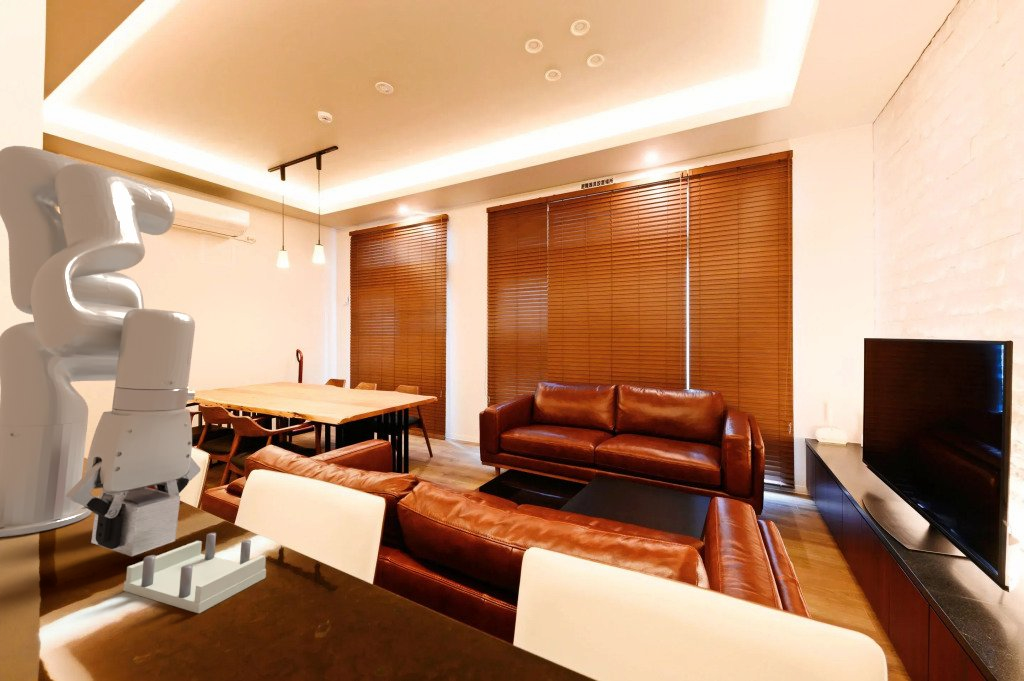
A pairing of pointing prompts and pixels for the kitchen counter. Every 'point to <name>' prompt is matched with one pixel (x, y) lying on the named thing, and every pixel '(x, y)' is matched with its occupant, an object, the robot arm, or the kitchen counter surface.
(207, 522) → the kitchen counter surface
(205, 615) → the kitchen counter surface
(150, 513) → the box
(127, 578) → the tray
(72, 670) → the kitchen counter surface
